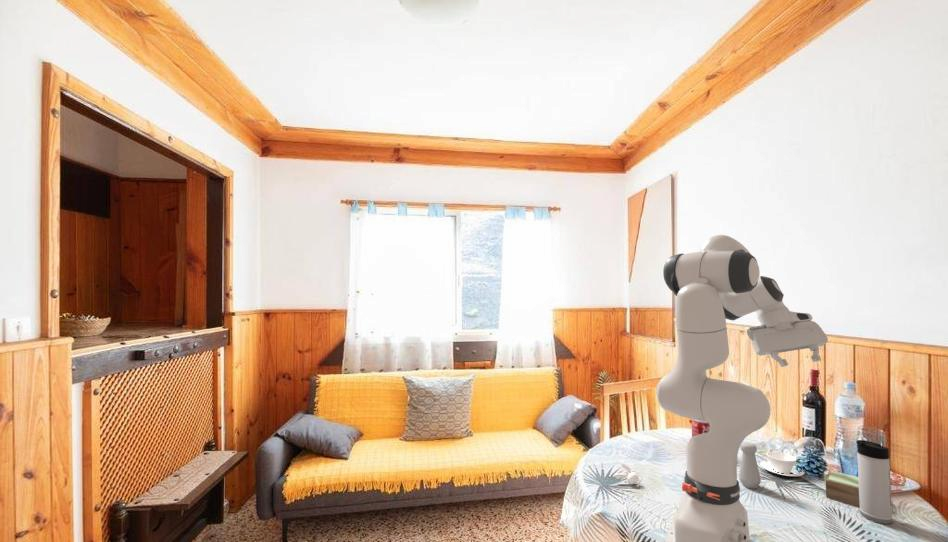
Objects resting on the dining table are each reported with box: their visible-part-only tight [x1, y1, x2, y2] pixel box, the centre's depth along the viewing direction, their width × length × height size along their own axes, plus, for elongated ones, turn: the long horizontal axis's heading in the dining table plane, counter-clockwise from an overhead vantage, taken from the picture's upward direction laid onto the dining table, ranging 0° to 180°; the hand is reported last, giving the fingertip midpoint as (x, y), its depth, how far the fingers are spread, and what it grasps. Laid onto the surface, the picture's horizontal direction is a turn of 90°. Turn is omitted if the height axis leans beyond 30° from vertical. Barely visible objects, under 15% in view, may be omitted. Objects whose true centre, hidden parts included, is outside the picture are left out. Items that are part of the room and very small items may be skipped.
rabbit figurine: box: [613, 460, 642, 488], centre depth 131 cm, size 6×4×8 cm
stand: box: [825, 470, 860, 508], centre depth 121 cm, size 9×9×5 cm
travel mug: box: [856, 439, 893, 525], centre depth 111 cm, size 6×7×20 cm
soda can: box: [691, 419, 710, 438], centre depth 155 cm, size 7×7×12 cm
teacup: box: [759, 450, 805, 477], centre depth 138 cm, size 12×12×5 cm
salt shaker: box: [738, 441, 762, 490], centre depth 129 cm, size 6×6×13 cm
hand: (801, 363), depth 125 cm, fingers open, 8 cm apart
